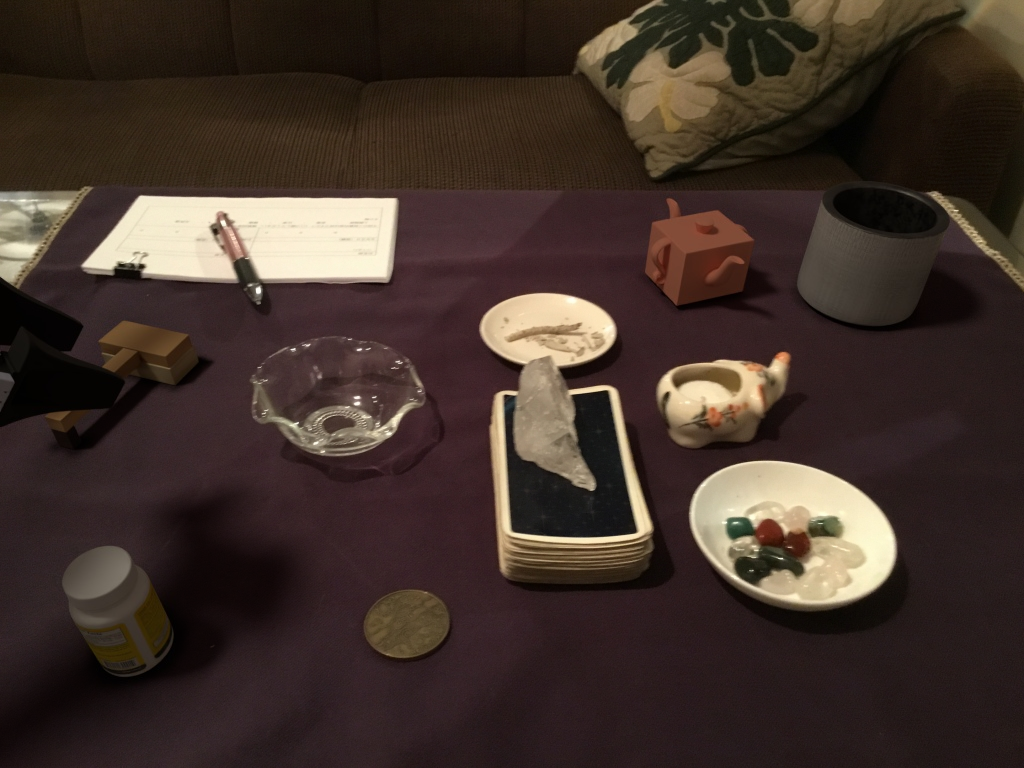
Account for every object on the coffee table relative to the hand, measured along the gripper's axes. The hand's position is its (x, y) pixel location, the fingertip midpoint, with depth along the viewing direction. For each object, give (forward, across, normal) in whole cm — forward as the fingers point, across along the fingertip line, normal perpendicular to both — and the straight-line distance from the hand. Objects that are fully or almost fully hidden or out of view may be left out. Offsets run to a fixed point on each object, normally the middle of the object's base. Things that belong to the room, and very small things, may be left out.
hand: (95, 363), depth 52 cm
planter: (+64, -18, -35) cm, 75 cm away
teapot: (+55, -5, -27) cm, 61 cm away
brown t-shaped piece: (+13, +17, +10) cm, 23 cm away
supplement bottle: (+6, -10, +16) cm, 20 cm away
